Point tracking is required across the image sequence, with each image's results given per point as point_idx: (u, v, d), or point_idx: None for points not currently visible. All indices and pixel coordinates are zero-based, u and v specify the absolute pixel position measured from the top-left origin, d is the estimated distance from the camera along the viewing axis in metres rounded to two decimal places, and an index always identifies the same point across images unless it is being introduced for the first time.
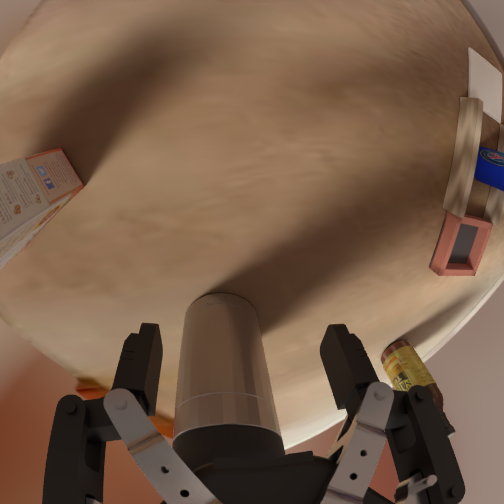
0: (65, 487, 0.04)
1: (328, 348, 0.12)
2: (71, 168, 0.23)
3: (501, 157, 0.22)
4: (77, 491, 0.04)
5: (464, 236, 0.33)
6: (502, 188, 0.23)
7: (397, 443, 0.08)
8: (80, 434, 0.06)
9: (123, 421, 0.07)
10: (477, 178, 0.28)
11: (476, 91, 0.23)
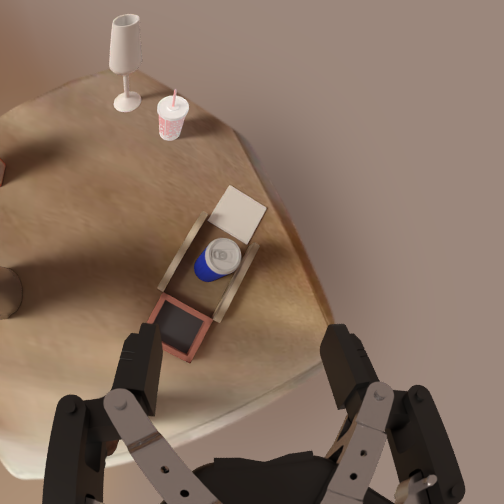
0: (65, 487, 0.04)
1: (328, 348, 0.12)
2: (2, 175, 0.40)
3: None
4: (77, 491, 0.04)
5: (181, 324, 0.48)
6: (200, 271, 0.45)
7: (397, 443, 0.08)
8: (80, 434, 0.06)
9: (123, 421, 0.07)
10: (197, 275, 0.50)
11: (220, 215, 0.54)
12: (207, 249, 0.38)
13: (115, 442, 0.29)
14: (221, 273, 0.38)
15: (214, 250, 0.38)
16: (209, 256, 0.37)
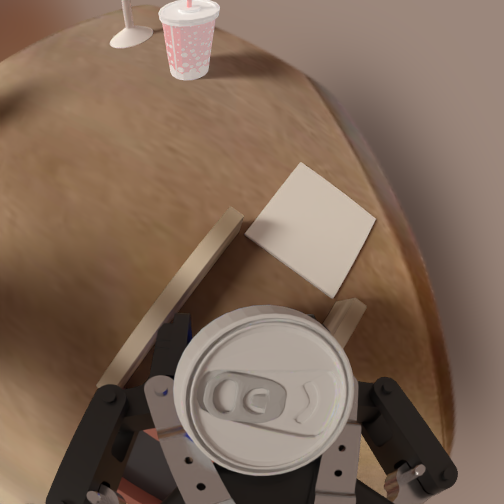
0: (83, 471, 0.05)
1: None
2: None
3: None
4: (94, 478, 0.05)
5: (160, 457, 0.17)
6: None
7: (373, 436, 0.09)
8: (113, 425, 0.07)
9: (160, 407, 0.08)
10: None
11: (275, 223, 0.23)
12: (183, 361, 0.07)
13: None
14: None
15: (219, 374, 0.06)
16: (186, 404, 0.06)
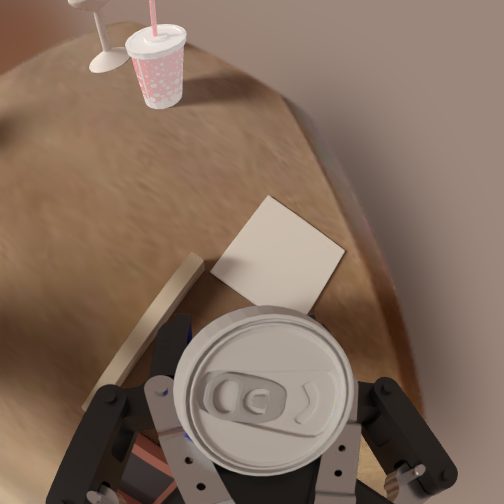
0: (83, 471, 0.05)
1: None
2: None
3: None
4: (94, 478, 0.05)
5: (140, 467, 0.18)
6: None
7: (373, 436, 0.09)
8: (113, 425, 0.07)
9: (160, 407, 0.08)
10: None
11: (240, 261, 0.24)
12: (183, 361, 0.07)
13: None
14: None
15: (219, 374, 0.06)
16: (186, 405, 0.06)
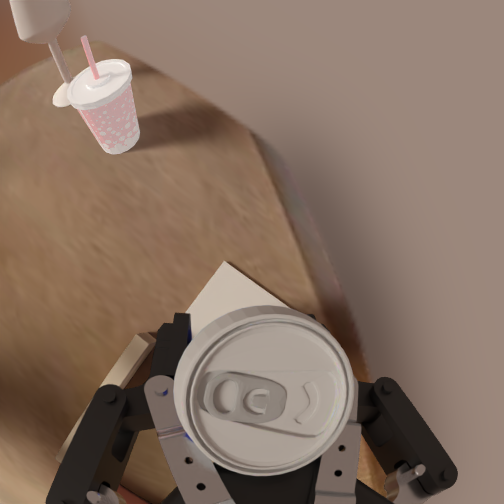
0: (83, 471, 0.05)
1: None
2: None
3: None
4: (94, 477, 0.05)
5: None
6: None
7: (373, 436, 0.09)
8: (113, 424, 0.07)
9: (160, 407, 0.08)
10: None
11: None
12: (184, 361, 0.07)
13: None
14: None
15: (219, 374, 0.06)
16: (186, 405, 0.06)
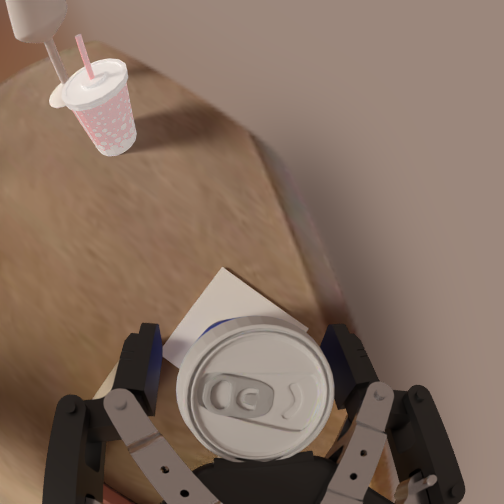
0: (65, 487, 0.04)
1: (328, 348, 0.12)
2: None
3: (223, 320, 0.17)
4: (77, 491, 0.04)
5: None
6: None
7: (398, 442, 0.08)
8: (80, 434, 0.06)
9: (123, 421, 0.07)
10: None
11: (189, 343, 0.21)
12: (185, 365, 0.08)
13: None
14: None
15: (215, 376, 0.07)
16: (187, 402, 0.07)
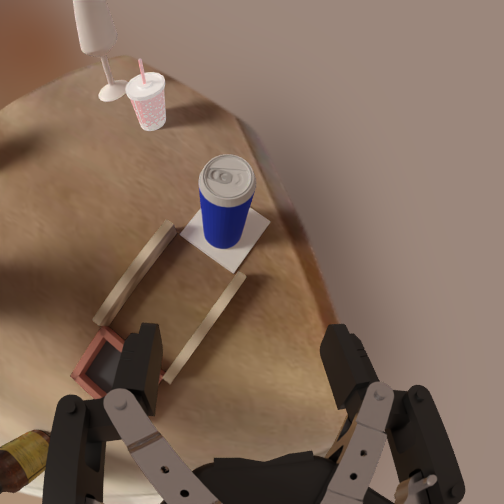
0: (65, 487, 0.04)
1: (328, 347, 0.12)
2: None
3: None
4: (77, 491, 0.04)
5: None
6: (203, 223, 0.31)
7: (397, 443, 0.08)
8: (80, 434, 0.06)
9: (123, 421, 0.07)
10: (205, 237, 0.36)
11: (198, 227, 0.38)
12: None
13: (16, 483, 0.13)
14: (220, 204, 0.23)
15: (213, 169, 0.24)
16: (203, 175, 0.23)
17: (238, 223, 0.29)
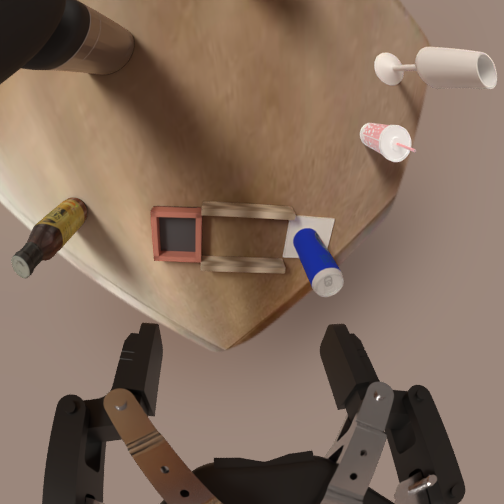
0: (65, 487, 0.04)
1: (328, 348, 0.12)
2: None
3: (324, 244, 0.48)
4: (77, 491, 0.04)
5: (183, 236, 0.51)
6: (303, 249, 0.48)
7: (397, 443, 0.08)
8: (80, 434, 0.06)
9: (123, 421, 0.07)
10: (296, 236, 0.52)
11: (300, 224, 0.52)
12: (329, 270, 0.40)
13: (51, 257, 0.36)
14: (312, 287, 0.42)
15: (330, 276, 0.41)
16: (324, 275, 0.40)
17: None
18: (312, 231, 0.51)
